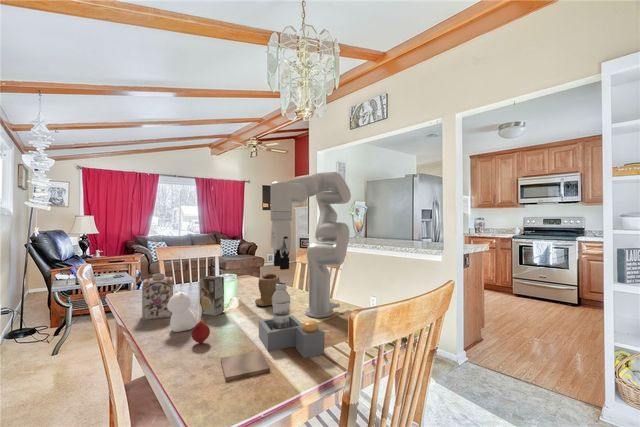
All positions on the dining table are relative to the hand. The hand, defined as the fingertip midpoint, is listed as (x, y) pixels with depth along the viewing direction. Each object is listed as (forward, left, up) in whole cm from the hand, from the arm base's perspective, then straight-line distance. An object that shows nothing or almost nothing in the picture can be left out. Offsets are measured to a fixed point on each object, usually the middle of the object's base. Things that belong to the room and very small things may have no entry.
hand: (281, 267), depth 105 cm
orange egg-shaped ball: (-6, +12, -23) cm, 26 cm away
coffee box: (+20, -42, -26) cm, 53 cm away
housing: (-2, +4, -26) cm, 26 cm away
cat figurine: (+31, -26, -26) cm, 48 cm away
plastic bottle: (0, 0, -26) cm, 26 cm away
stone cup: (-8, -44, -26) cm, 52 cm away
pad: (+15, +13, -26) cm, 32 cm away
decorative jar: (+42, -49, -26) cm, 70 cm away
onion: (+26, -9, -26) cm, 38 cm away
